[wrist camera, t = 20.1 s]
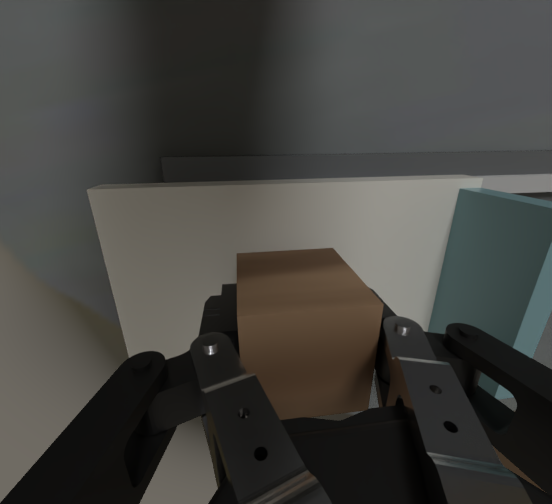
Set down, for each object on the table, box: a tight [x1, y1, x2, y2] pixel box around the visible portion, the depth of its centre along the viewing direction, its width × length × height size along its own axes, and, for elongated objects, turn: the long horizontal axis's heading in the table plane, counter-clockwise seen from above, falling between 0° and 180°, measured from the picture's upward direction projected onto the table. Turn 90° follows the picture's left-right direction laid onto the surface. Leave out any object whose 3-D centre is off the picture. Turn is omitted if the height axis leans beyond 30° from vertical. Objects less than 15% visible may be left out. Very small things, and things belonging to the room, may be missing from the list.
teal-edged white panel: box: [87, 175, 552, 399], centre depth 15 cm, size 10×19×10 cm, turn 91°
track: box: [161, 150, 552, 201], centre depth 21 cm, size 12×29×1 cm, turn 91°
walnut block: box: [237, 248, 384, 420], centre depth 12 cm, size 4×4×5 cm
